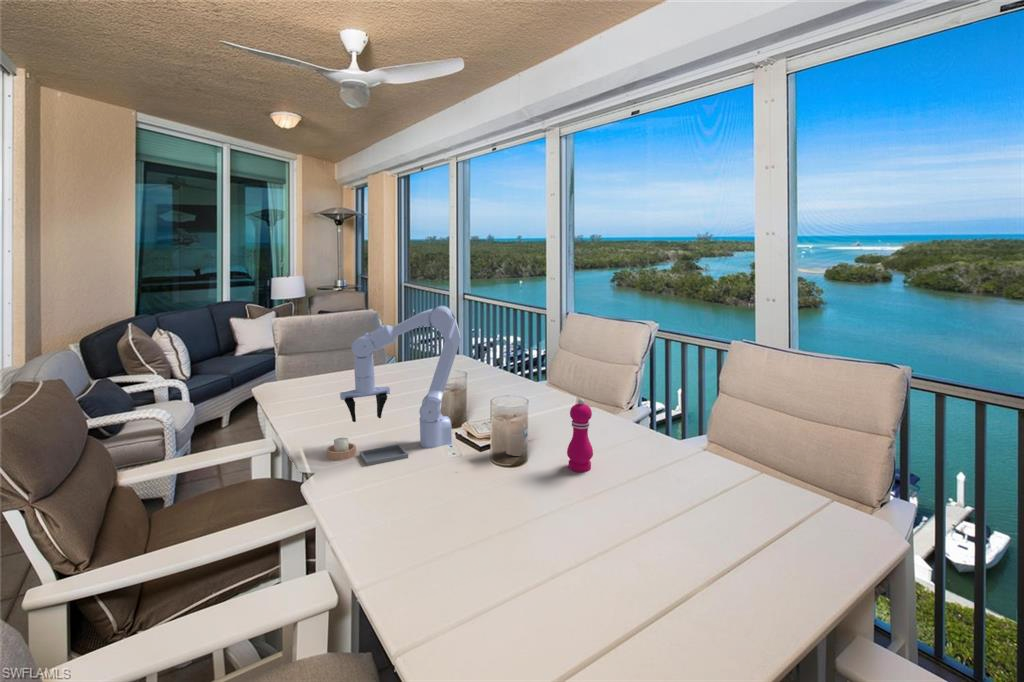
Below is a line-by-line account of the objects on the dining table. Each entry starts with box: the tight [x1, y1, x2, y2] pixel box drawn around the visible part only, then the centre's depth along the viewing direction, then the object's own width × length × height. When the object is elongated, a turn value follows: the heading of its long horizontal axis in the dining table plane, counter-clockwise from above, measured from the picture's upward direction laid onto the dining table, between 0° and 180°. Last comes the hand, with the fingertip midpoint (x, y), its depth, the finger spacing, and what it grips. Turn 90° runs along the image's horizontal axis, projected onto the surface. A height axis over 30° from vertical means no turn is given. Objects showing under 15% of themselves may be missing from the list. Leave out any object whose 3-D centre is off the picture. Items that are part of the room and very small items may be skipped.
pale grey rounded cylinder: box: [333, 437, 349, 452], centre depth 144 cm, size 4×4×5 cm
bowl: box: [326, 442, 357, 461], centre depth 144 cm, size 8×8×3 cm
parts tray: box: [358, 443, 409, 467], centre depth 143 cm, size 12×9×2 cm
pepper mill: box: [566, 398, 594, 473], centre depth 135 cm, size 7×7×20 cm
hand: (366, 419), depth 150 cm, fingers open, 7 cm apart
